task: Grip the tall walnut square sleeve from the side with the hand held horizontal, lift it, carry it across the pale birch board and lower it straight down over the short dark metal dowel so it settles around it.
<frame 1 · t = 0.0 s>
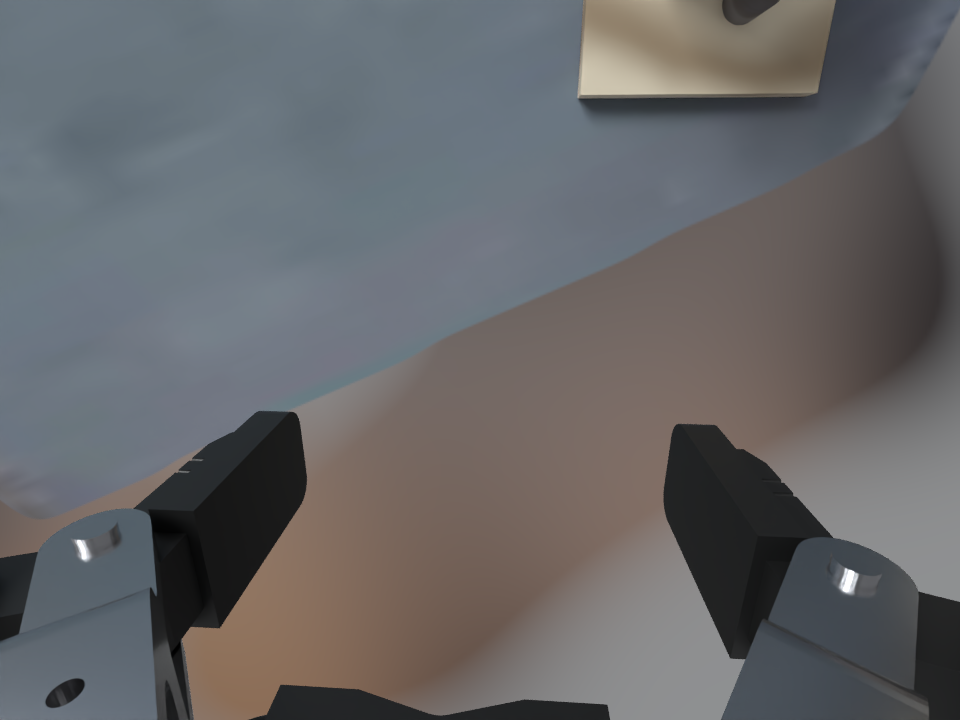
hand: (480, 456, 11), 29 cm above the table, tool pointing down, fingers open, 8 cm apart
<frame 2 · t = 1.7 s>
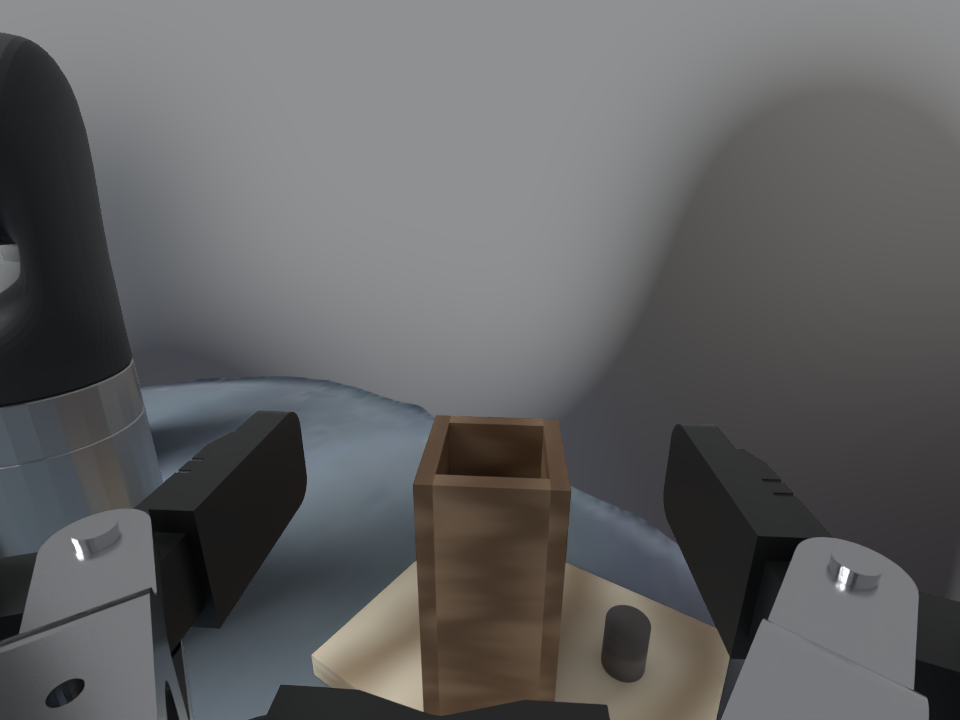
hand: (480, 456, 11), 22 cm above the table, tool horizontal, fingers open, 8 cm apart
sleeve: (490, 669, 28), point 1 cm above the table, touching board
liquor: (92, 461, 52), on the table
board: (526, 664, 30), on the table
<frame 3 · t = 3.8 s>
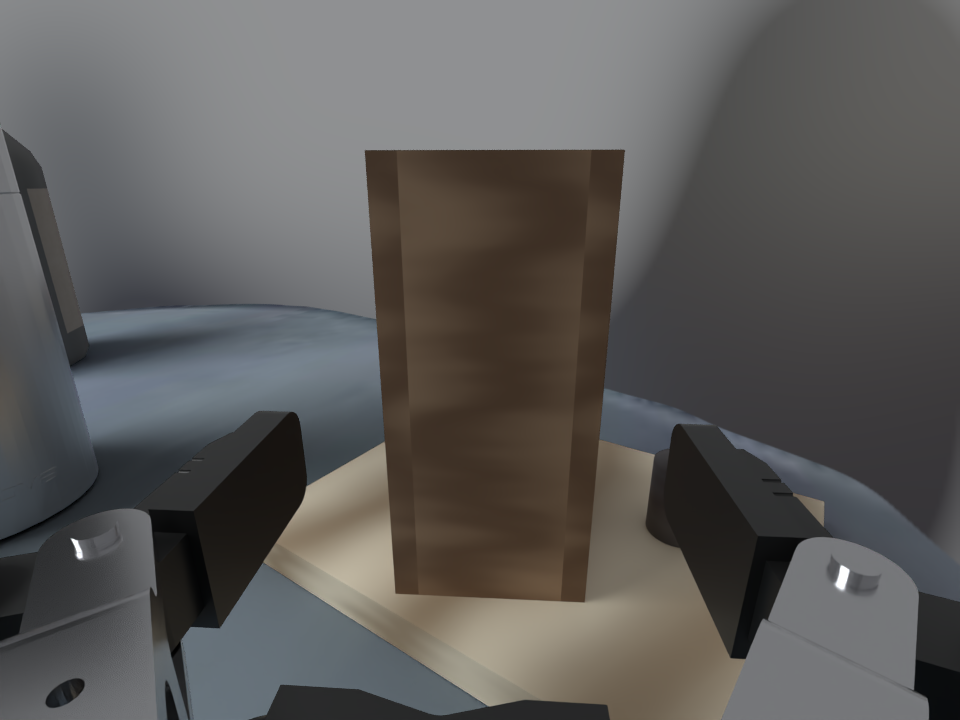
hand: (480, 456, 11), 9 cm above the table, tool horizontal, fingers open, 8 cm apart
sleeve: (492, 535, 20), point 1 cm above the table, touching board
liquor: (17, 366, 43), on the table
board: (541, 541, 22), on the table
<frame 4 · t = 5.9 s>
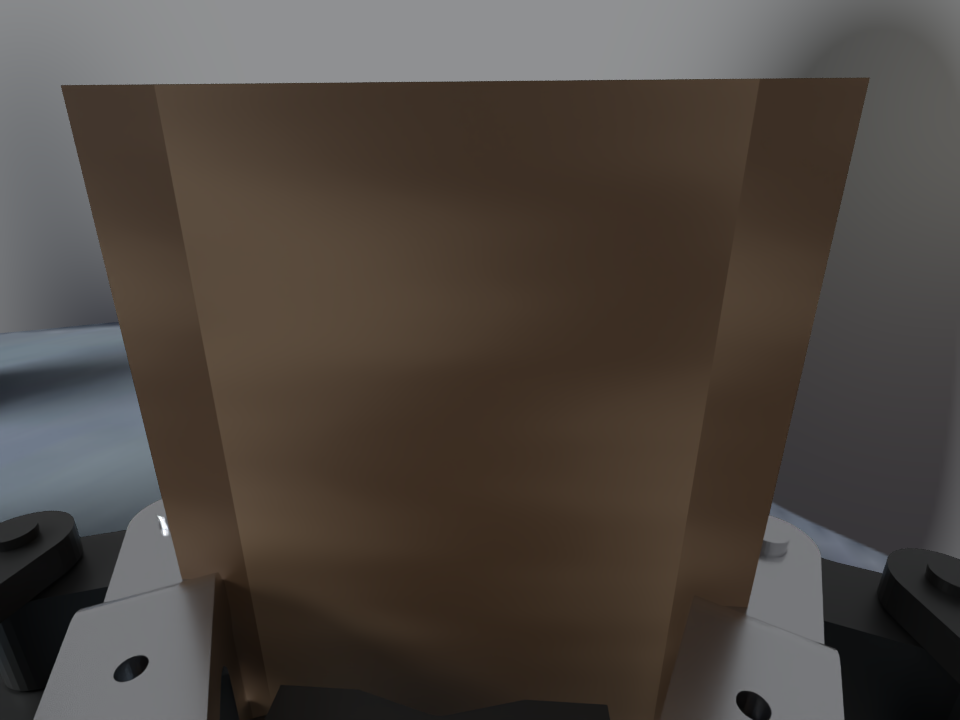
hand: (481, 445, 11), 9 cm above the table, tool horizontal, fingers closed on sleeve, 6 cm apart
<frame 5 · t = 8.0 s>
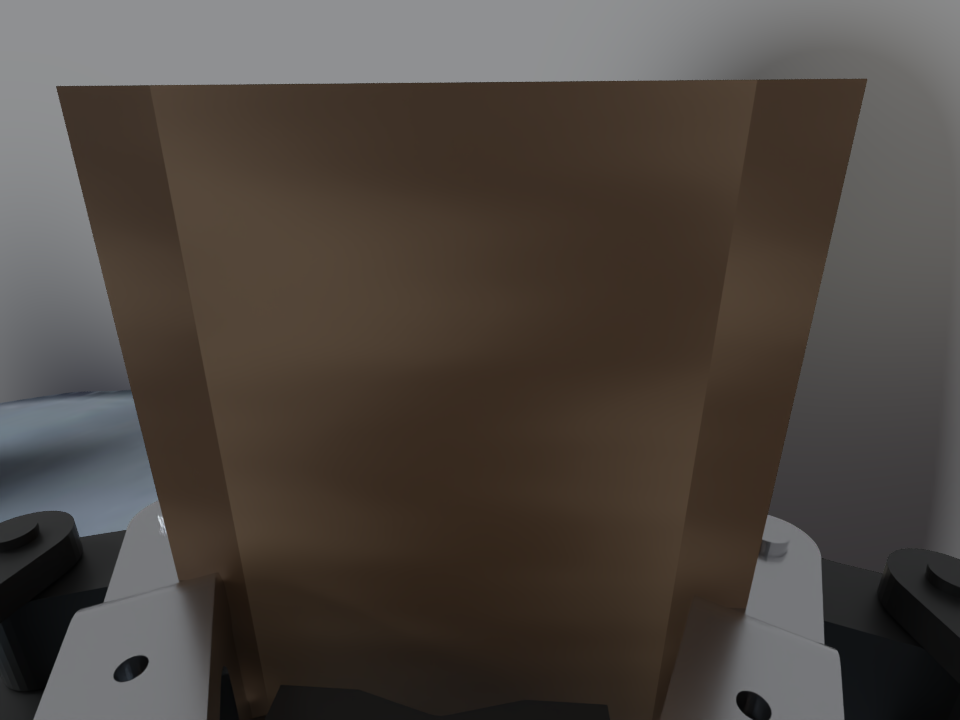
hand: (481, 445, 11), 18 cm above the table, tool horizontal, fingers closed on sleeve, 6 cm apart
when the fingers open (11 cm above the table, at t = 10.4 s): sleeve drops 1 cm, resting on board.
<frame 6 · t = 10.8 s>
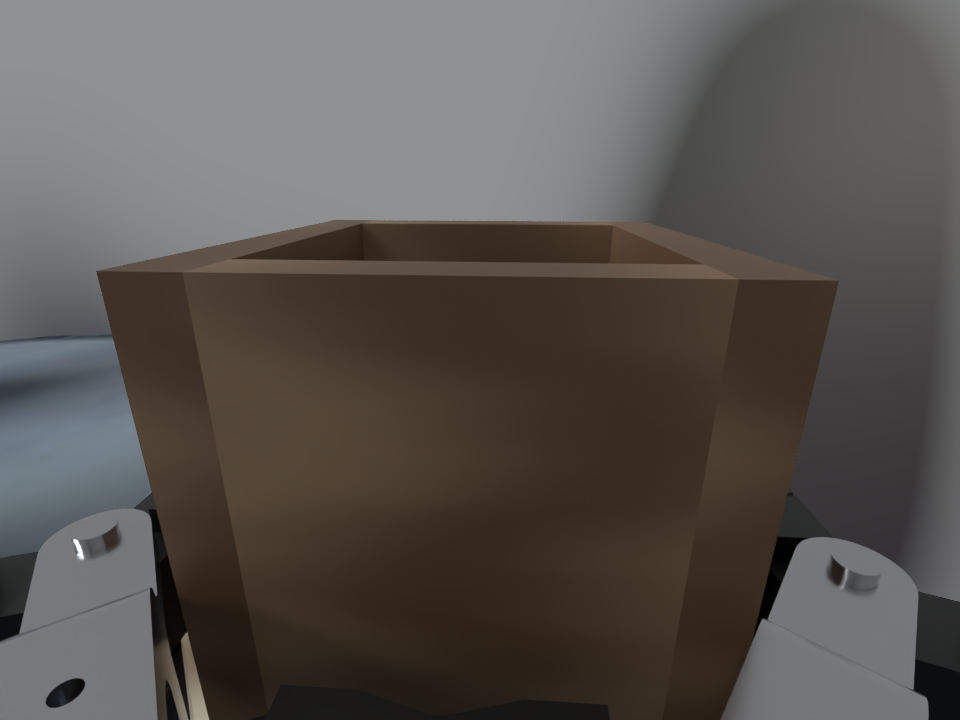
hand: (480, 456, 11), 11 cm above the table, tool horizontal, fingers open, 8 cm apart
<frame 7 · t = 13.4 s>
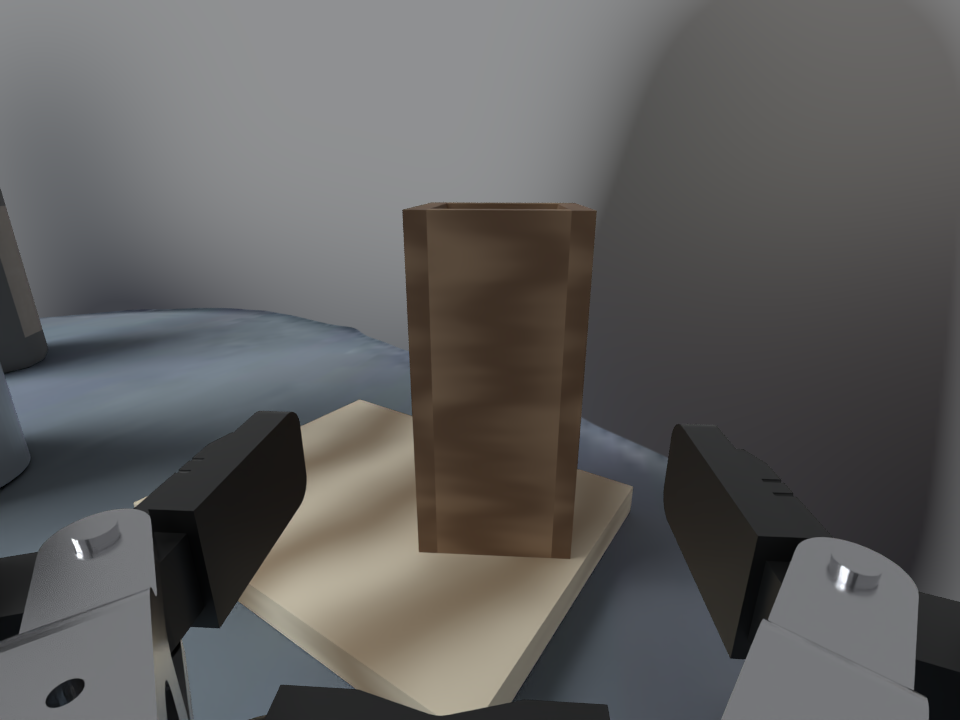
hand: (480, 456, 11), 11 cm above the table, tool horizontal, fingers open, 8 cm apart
sleeve: (496, 509, 24), point 1 cm above the table, touching board
board: (391, 519, 26), on the table
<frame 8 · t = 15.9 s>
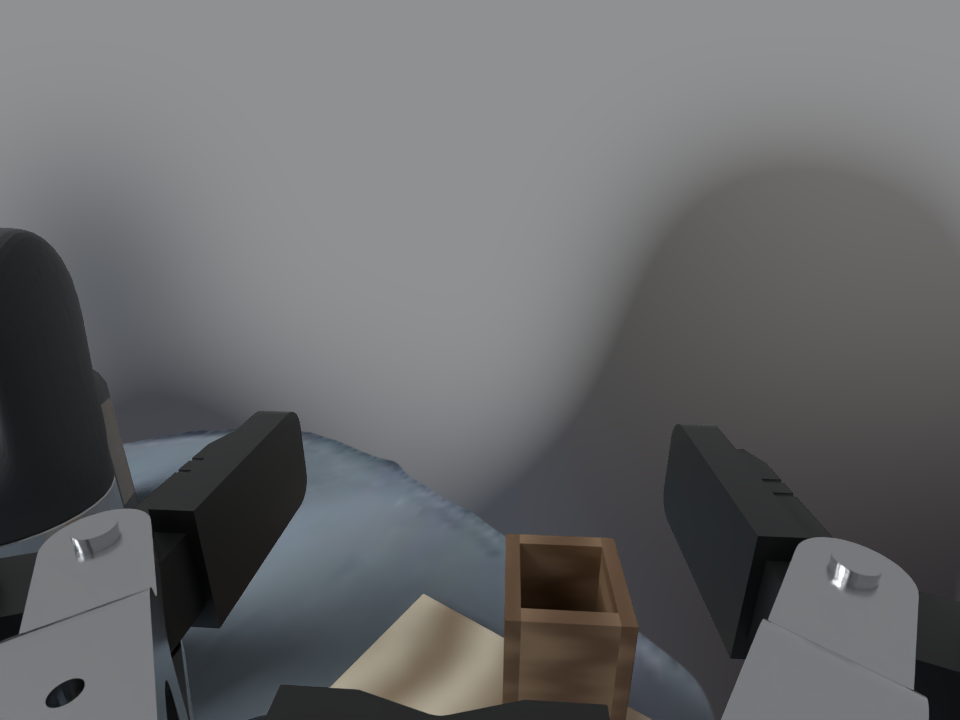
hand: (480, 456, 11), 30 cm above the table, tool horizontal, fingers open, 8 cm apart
liquor: (84, 528, 55), on the table
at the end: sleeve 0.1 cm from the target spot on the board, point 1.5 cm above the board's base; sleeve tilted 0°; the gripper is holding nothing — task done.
